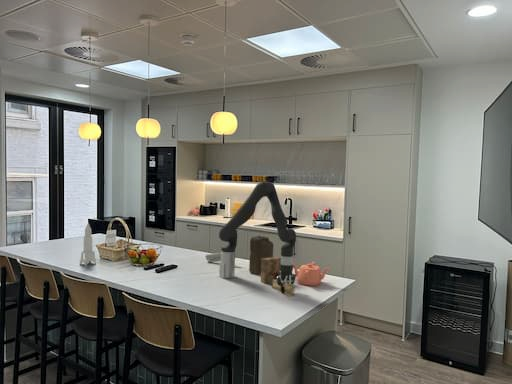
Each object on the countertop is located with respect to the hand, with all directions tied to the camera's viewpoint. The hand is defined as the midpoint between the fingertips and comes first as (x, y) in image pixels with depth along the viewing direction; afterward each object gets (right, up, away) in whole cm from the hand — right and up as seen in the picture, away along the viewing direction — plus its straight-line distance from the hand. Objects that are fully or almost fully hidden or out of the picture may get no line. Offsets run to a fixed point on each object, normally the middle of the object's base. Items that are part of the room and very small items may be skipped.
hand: (285, 292), depth 219 cm
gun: (-44, +4, +62) cm, 76 cm away
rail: (-1, 0, +2) cm, 2 cm away
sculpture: (-138, +7, +48) cm, 146 cm away
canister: (-14, +3, +44) cm, 46 cm away
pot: (+17, 0, +21) cm, 27 cm away
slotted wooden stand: (-7, +1, +19) cm, 20 cm away
